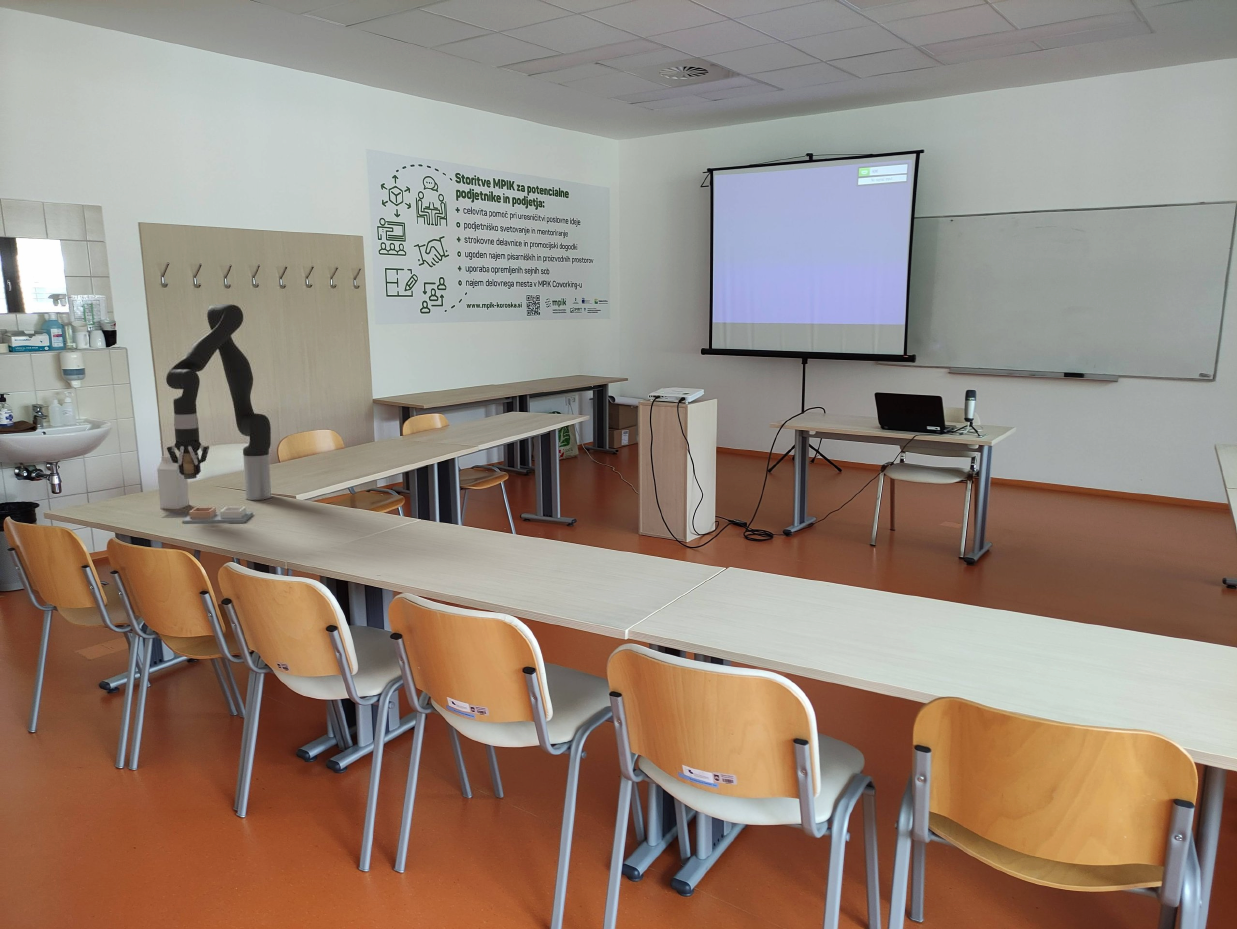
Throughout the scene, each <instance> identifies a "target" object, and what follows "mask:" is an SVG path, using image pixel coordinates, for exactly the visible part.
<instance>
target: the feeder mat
mask: <svg viewBox="0 0 1237 929" xmlns="http://www.w3.org/2000/svg"><path fill="white" fill-rule="evenodd" d="M190 511H191V510H188V511H187V510H186V511H185V510H184V511H183V510H181V511H170V512H168V513H167V514H165V515H163V516H162V517H161V518H162V519H164V518H165V519H166V518H167V519H169V518H171V519H172V518H176V519H177V518H186V517H188V516H189V512H190Z"/></svg>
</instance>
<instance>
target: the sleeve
mask: <svg viewBox="0 0 1237 929" xmlns="http://www.w3.org/2000/svg"><path fill="white" fill-rule="evenodd" d="M194 465H195V463H194V460H193V459H192V457H191V454H190V453H184V454H183V471H184V479H187V480H192V479H193V480H194V479H197V476H198V475H195V468H194Z"/></svg>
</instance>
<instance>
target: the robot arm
mask: <svg viewBox="0 0 1237 929" xmlns="http://www.w3.org/2000/svg"><path fill="white" fill-rule="evenodd" d="M206 318H207V322H208V326H209V328H210V332H209V333H207V334H206V335H204V336H203V337H201V338H200V339H198V341H197V342H195V343H194V344H193V345H192V347H191V348H190V349H189V351H188V352H187V353H186V355H185V357H183V358H182V359H180V360H179V361H178V362H177V363H175V364H174V365H173V366H172V367H171V368H170V369H169V371H167V374H166V376H165V377H166V378H165V380H166V384H167V386H168V387H169V388H171V389H173V390H182V392H181V395H180V396H176V397H175V398H173V416H174V417H173V427H174V436H175V438H174V439H175V443H174V445H169V446H167V448H166V450H167V452H168V455H169V457H171V460H172V462H173V463H177V464H178V465H179V472H180V474H181V475H184V471H183V454H184V453H190V454H191V457H192V459H193V460H194V463H195V465H194V468H195V475H197V476H198V475H200V473H201V471H202V470H201V464H203V463H205V462H206V460H207V457H208V454H209V452H210V451H209V450H210V445H203V444H202V443H201V441H200V427H199V418H198V414H197V398H198V393H199V390H200V377H199V374H198V373H199V372H202V371H203V370H204V369H205V367H206V366H207V365H208V363H209V362H210V360H211V358H212V357H213V356H214V355H215V353H216V352H217V351H218V353H219V356H220V359H221V362H222V366H223V371H224V374H225V378H226V382H227V385H228V389H229V392H230V397H231V401H232V405H233V410H234V417H235V423H236V427H237V431H239V433H240V434H241V435H243V436H245V437H249V443H248V445H247V446H246V445H245V446H243V448H242V455H243V456H242V457H243V473H244V486H245V488H244V489H245V491H244V492H245V499H246V500H250V501H261V500H268V499H271V498H272V485H271V483H272V481H271V465H270V448H271V444H272V442H271V441H272V435H271V434H272V432H271V431H272V427H271V421H270V418H269V417H268V416H267V415H265V414H262V413H257V412H255V410H254V409H253V405H252V400H251V399H252V398H251V395H252V394H251V393H252V389H253V385H254V376H253V372H252V371H253V370H252V368H251V364H250V362H249V359H248V358H247V357H246V356H245V354H244V353H243V352H242V351H241V349H240V348H239V347H238V346H237V345H236V343H235V342H234V340H233V338H232V335H233V334H234V333H235V332H236V331H237V330H239V328H240V327H242V324H243V322H244V313H243V310H242V308H241V307H240V306H238V305H236V304H233V303H232V304H229V303H228V304H212V305H211V306H209V307H208V309H207V313H206ZM176 450H177V451H178V452H179V453H178V454H177V452H176ZM199 450H200V452H201V455H199ZM177 455H178V456H177ZM178 457H179V459H178Z"/></svg>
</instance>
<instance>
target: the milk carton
mask: <svg viewBox="0 0 1237 929" xmlns="http://www.w3.org/2000/svg"><path fill="white" fill-rule="evenodd" d="M177 457H178V459H179V456H177ZM156 472H157V481H158V482H157V483H158V495H159V497H158V498H159V508H160V509H161V510H162V509H163V510H165V509H166V510H167V509H169V510H179V509H180V510H181V509H183V508H184V507H185V508H186V507H187V506H189V505H190V496H189V485H188V484H189V483H188V482H189V481H188V480H189V479H184V475H181V474H180V472H179V465H178V464H177V463H173V462H172V460H171V457H170V456H161V460H160V462H159V465H158V466H157V469H156Z"/></svg>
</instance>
